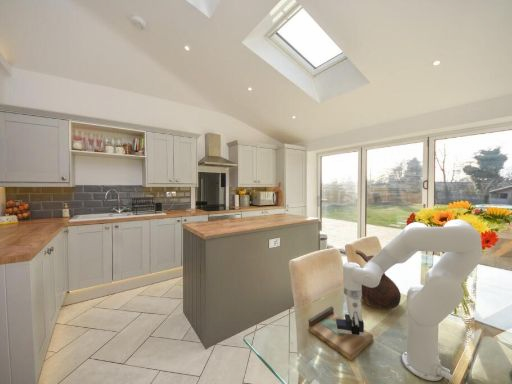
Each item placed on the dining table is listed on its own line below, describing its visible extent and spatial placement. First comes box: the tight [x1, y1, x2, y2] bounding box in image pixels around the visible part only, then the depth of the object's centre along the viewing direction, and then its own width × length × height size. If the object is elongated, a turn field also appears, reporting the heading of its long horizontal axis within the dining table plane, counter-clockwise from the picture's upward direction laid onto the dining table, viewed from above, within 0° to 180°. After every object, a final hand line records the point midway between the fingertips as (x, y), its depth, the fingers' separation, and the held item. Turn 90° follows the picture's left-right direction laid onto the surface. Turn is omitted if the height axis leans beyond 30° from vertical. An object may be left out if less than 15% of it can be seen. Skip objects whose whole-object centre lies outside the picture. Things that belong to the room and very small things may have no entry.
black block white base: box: [336, 313, 365, 336], centre depth 98 cm, size 11×5×6 cm, turn 75°
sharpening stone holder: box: [308, 306, 374, 361], centre depth 101 cm, size 22×18×6 cm
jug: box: [355, 249, 402, 311], centre depth 124 cm, size 22×22×30 cm
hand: (354, 329), depth 98 cm, fingers closed on black block white base, 5 cm apart
